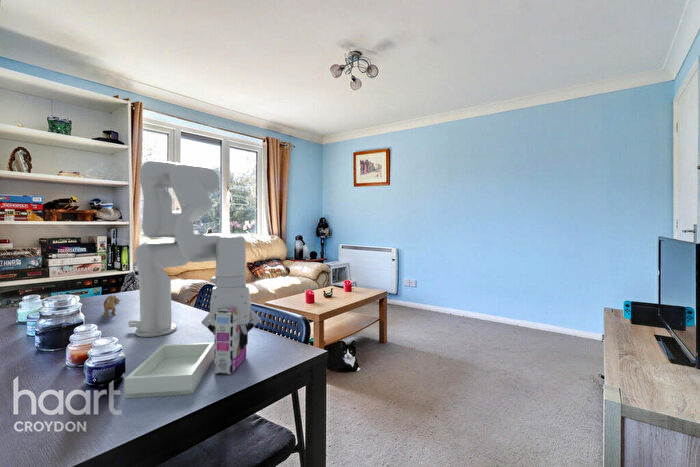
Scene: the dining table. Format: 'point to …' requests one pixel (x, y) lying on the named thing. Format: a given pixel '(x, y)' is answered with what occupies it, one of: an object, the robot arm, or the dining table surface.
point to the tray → (170, 371)
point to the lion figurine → (110, 305)
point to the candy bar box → (227, 342)
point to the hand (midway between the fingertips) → (231, 347)
